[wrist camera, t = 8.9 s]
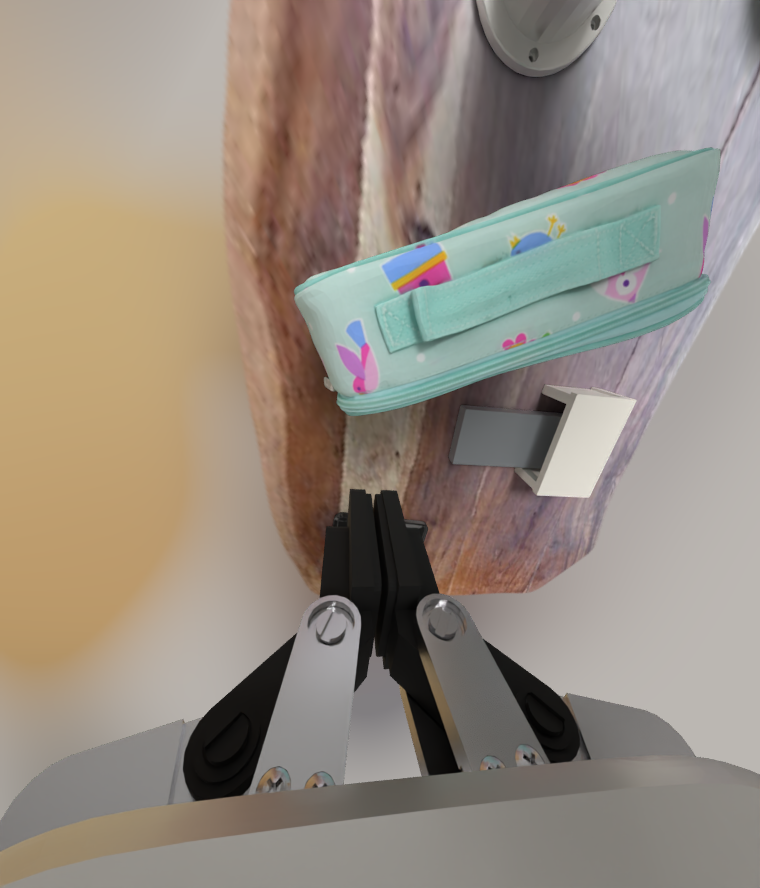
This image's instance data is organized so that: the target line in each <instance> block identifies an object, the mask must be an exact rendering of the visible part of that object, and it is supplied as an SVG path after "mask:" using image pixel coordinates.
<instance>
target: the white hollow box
mask: <svg viewBox="0 0 760 888" xmlns="http://www.w3.org/2000/svg"><path fill="white" fill-rule="evenodd" d="M542 394H544V395H547V396H549V397H551V398H554V399H556V400H558V401H561V402H563V403H565V404H566V407H565V409H564V412H563V415H562V417H561V420H560V422H559V425H558V427H557V430H556V432H555V435H554V438H553V440H552V443H551V445H550V448H549V450H548V453H547V455H546V458H545V460H544V463H543V466H542V468H541V469H540V468H520V467H516V468H515V470H514V471H515V472H516V473H517V474H518V475H519V476H520V477H521V478H522V479H523V480H524V481H525V482H526V483H527V484H528V485H529V486H530V487H531V488H532V489H533V492H534V493H535V494H536V495H539V496H563V497H586V498H589V497H590V495H591V493H592V491H593V489H594V486H595V484H596V482H597V480H598V478H599V476H600V474H601V472H602V470H603V468H604V466H605V464H606V462H607V460H608V458H609V456H610V454H611V452H612V450H613V448H614V446H615V444H616V442H617V439H618V437H619V435H620V433H621V431H622V429H623V427H624V425H625V423H626V421H627V419H628V417H629V415H630V413H631V411H632V409H633V407H634V405H635V403H636V401H637V400H635V399H632V398H628V397H625V396H622V395H619V394H616V393H613V392H609V391H606V390H603V389H600V388H595V387H591V389H583V388H573V387H564V386H554V385H544V388H543V391H542Z"/></svg>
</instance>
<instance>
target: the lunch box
mask: <svg viewBox="0 0 760 888" xmlns="http://www.w3.org/2000/svg"><path fill="white" fill-rule="evenodd" d="M719 171H720V149H713V148H705V149H701V150H697V151H673V152H667V153H663V154H658V155H654V156H650V157H647V158H644V159H641V160H638V161H635V162H632V163H628V164H625V165H622V166H619V167H616V168H613V169H610V170H607V171H605V172H602V173H599V174H596V175H593V176H590V177H588V178H585V179H582V180H579V181H577V182H574V183H571V184H569V185H566V186H563V187H560V188H557V189H554V190H551V191H549V192H546V193H544V194H542V195H539V196H537V197H534V198H531V199H527V200H524V201H520V202H517V203H515V204H512V205H509V206H507V207H504V208H501V209H500V210H498V211H496V212H494V213H492V214H490V215H488V216H486V217H482V218H478V219H476V220H473V221H471V222H468V223H466V224H464V225H462V226H460V227H458V228H456V229H454V230H452V231H450V232H448V233H445V234H442V235H439V236H436V237H433V238H430V239H427V240H423V241H420V242H417V243H414V244H411V245H408V246H404V247H401V248H398V249H395V250H392V251H389V252H386V253H383V254H380V255H376V256H373V257H370V258H367V259H364V260H361V261H358V262H354V263H352V264H349V265H346V266H343V267H340V268H337V269H334V270H330V271H327V272H323V273H320V274H317V275H314V276H312V277H310V278H309V279H307V280H306V282H305V283H303V284H301V285H299V286H298V287H296V288H295V289H294V293H295V302H296V305H297V306H298V308H299V310H300V312H301V314H302V316H303V317H304V319H305V322H306V324H307V326H308V328H309V331H310V334H311V337H312V340H313V343H314V345H315V347H316V349H317V351H318V353H319V355H320V358H321V360H322V362H323V364H324V367H325V369H326V372H327V374H328V377H329V378H328V377H324V385H325V387H326V388H327V389H329V390H331V391H337V393H338V395H337V404H338V405H339V406H340V408H341V410H343V411H345V413H346V414H347V415H349V416H360V415H367V414H374V413H379V412H384V411H389V410H394V409H398V408H402V407H406V406H409V405H412V404H416V403H419V402H422V401H425V400H428V399H431V398H434V397H437V396H440V395H443V394H445V393H448V392H451V391H454V390H456V389H459V388H461V387H464V386H467V385H469V384H472V383H474V382H477V381H480V380H483V379H486V378H489V377H492V376H495V375H498V374H501V373H505V372H508V371H512V370H516V369H520V368H524V367H527V366H531V365H534V364H538V363H542V362H546V361H549V360H552V359H556V358H560V357H564V356H568V355H572V354H576V353H580V352H584V351H588V350H592V349H596V348H600V347H604V346H608V345H611V344H615V343H619V342H622V341H626V340H629V339H632V338H635V337H638V336H641V335H644V334H647V333H649V332H652V331H655V330H657V329H660V328H662V327H664V326H667V325H669V324H671V323H673V322H675V321H676V320H678V319H680V318H682V317H683V316H685V315H687V314H688V313H690V312H691V311H692V310H694V309H695V308H696V307H697V306H698V305H699V304H700V303H702V301H703V299H704V295H705V294H706V293H707V291H708V285H709V284H710V282H711V281H710V280H709V277H708V275H706V274H702V270H703V265H704V250H705V245H706V241H707V237H708V231H709V225H710V218H711V211H712V205H713V199H714V194H715V189H716V185H717V180H718V175H719Z"/></svg>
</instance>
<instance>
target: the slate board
mask: <svg viewBox="0 0 760 888" xmlns="http://www.w3.org/2000/svg"><path fill="white" fill-rule="evenodd" d="M562 415H563V413H554V412H542V411H529V410H517V409H505V408H493V407H481V406H469V405H461V406H460V410H459V414H458V419H457V423H456V427H455V431H454V436H453V440H452V444H451V448H450V453H449V457H448V458H449V459H450V461H451V462H452V464H462V465H482V466H501V467H520V468H540V469H541V468H542V466H543V463H544V460H545V458H546V455H547V453H548V450H549V448H550V445H551V443H552V440H553V438H554V435H555V432H556V430H557V427H558V425H559V422H560V420H561V417H562Z"/></svg>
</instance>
